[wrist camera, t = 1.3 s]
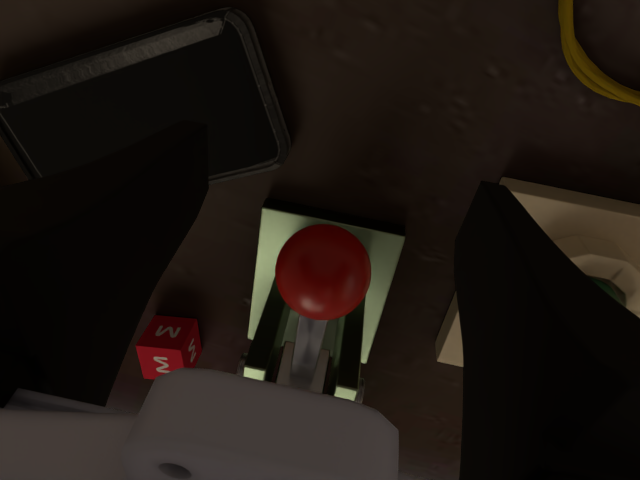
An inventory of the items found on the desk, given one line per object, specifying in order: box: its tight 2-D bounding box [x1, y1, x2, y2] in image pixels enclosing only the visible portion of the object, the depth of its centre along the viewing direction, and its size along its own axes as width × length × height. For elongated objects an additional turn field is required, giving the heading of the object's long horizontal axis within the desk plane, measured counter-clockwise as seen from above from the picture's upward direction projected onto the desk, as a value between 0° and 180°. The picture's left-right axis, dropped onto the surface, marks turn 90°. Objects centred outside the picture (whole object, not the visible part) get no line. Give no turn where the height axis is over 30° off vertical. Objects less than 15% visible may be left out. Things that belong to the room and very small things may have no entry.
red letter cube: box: [136, 315, 202, 380], centre depth 32 cm, size 3×3×3 cm
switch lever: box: [275, 224, 371, 394], centre depth 19 cm, size 12×3×3 cm, turn 170°
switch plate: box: [435, 177, 640, 367], centre depth 26 cm, size 12×10×4 cm
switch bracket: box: [236, 198, 406, 404], centre depth 26 cm, size 10×8×10 cm
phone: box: [0, 7, 291, 185], centre depth 25 cm, size 8×1×15 cm
